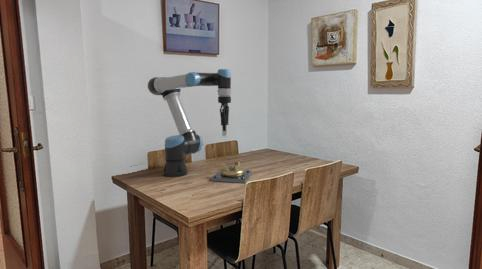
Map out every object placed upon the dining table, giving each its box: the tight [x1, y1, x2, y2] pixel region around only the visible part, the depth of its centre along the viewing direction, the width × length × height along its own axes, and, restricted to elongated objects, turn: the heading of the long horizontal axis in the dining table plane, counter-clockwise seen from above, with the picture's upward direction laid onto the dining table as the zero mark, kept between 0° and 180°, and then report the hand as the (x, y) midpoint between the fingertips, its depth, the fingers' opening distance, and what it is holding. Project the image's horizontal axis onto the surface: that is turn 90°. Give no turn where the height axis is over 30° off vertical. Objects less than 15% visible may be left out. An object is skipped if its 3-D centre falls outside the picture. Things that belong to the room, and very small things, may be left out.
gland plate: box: [210, 169, 253, 184], centre depth 203 cm, size 20×20×3 cm
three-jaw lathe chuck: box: [220, 160, 245, 177], centre depth 202 cm, size 14×14×6 cm
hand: (224, 136), depth 203 cm, fingers closed
